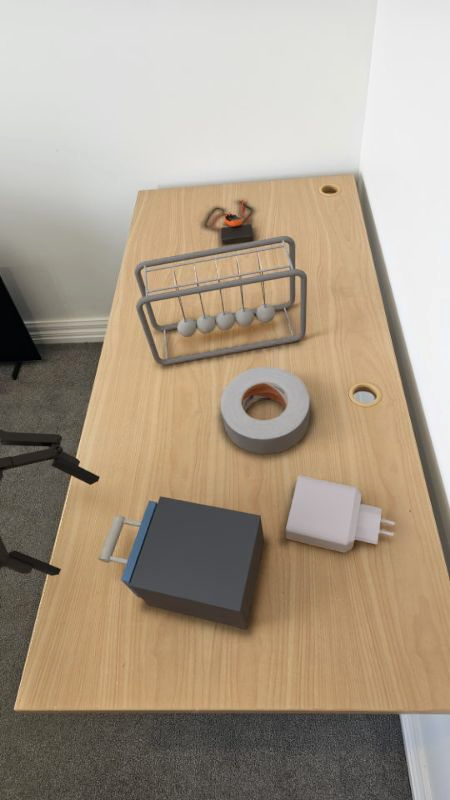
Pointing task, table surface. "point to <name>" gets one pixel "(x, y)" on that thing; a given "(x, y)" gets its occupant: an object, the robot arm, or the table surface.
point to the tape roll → (273, 431)
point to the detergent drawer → (137, 546)
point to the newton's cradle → (224, 318)
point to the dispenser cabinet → (200, 561)
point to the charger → (332, 516)
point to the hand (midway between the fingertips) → (77, 524)
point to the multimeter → (235, 228)
